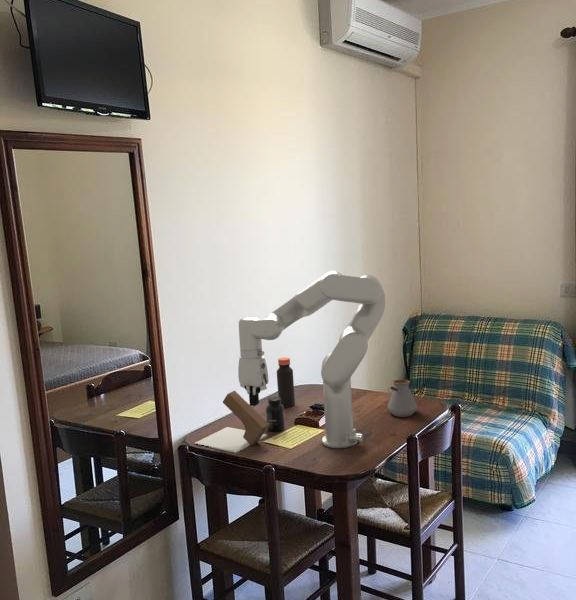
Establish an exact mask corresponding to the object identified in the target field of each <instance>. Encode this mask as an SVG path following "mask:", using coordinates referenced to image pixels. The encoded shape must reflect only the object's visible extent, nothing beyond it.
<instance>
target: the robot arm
mask: <svg viewBox="0 0 576 600" xmlns="http://www.w3.org/2000/svg"><path fill="white" fill-rule="evenodd" d="M332 301H339V302H345V303H353V304H354V303H355V304H359V305H358V306H357V309H356V311H355V312H354V314H353V316H352V318H351V320H350V321H349V322H348V324H347V325H346V327H345V328H344V329H343V331H342V332H341V333H340V335H339V337H338V342H337V344H336V346H335V347H334V348H333V350H332V351H331V352H329V353H328V354H327V355H325V357H324V358H323V360H322V363H321V369H320V374H321V375H320V376H321V379H322V388H323V389H322V390H323V407H324V409H323V410H324V422H325V423H324V425H325V426H324V427H325V435H324V436H323V437H322V438H321V444H323V445H324V446H325V447H327V448H332V449H345V448H351V447H353V446H356V444H358V443H362V442H363V440H364V436H363V434H362V433H357V429H356V428H354V425H353V424H354V423H353V422H354V421H353V419H354V418H353V402H352V396H353V395H352V380H351V377H352V376H353V375H354V373H355V371H356V370H357V368H358V367H359V366H360V364H361V362H362V361H363V360H364V358H365V356H366V354H367V352H368V348H369V340H370V338H371V337H372V335H373V334H374V332H375V330H376V328H377V326H378V325H379V324H380V321H381V319H382V317H383V316H384V313H385V309H386V294H385V291H384V288H383V286H382V285H381V283H380V281H379V279H378V278H377V277H375V276H374V275H372V274H371V275H370V274H365V275H362V276H361V277H359V276H353V275H346V274H342V273H341V272H339V271H336V270H331V271H328V272H327V273H325V274H324V275H322V276H321V277H319V278H318V279H317V280H315V281H314V282H312V283H311V284H309V285H308V286H306V287H305V288H304V289H302V290H301V291H299V292H298V293H297V294H295V295H294V296H293V297H292V298H290V299H289V300H288V301H287V302H285V303H283V304H281V305H280V306H279V307H278V308H276V309H275V310H274V311H272V312H271V313H269V314H268V315H267V316H265V318H262V319H260V318H258V317H254V316H253V317H251V316H250V317H249V316H248V317H243V318H241V319H239V320H238V337H239V351H240V353H239V354H240V356H239V357H238V358H239V359H238V368H237V369H238V370H237V371H238V374H237V375H238V377H237V378H238V383H239V384H240V388H242V389H245V390H246V393H247V395H248V398H249V399H248V401H249V405H250V406H251V407H255V406H257V405H260V397H259V395H260V393H261V392H262V391H265V390H267V389H268V388H267V385H268V384H269V373H268V366H267V362H266V357H265V356H264V355H265V351H264V350H263V346H262V345H263V344H262V343H263V342H262V340H266V341H274V340H277V339H278V338H279V337H281V335H282V333H283V332H284V331H285V330H286V329H287V328H288V327H290V326H291V325H293V324H294V323H296V322H297V321H299V320H301V319H303V318H305V317H306V318H307V317H309V316H312V315H313V314H315V313H316V312H317V311H319V310H320V309H322V308H324V306H326V305H327V304H328V303H330V302H332ZM323 445H322V446H323Z"/></svg>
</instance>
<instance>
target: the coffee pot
mask: <svg viewBox="0 0 576 600" xmlns="http://www.w3.org/2000/svg"><path fill="white" fill-rule="evenodd" d="M410 382H411V381H410V380H408V379H403V378H402V379H395V380H392V384H393V385H394V386H390V387H388V388H387V392H389V393H391V395H390V399H389V401H388V404H387V410H388V411H389V412H390V413H391V414H392V415H393V416H395V417H398V418H399V417H401V418H406V417H410V416H412V415H413V414H414V413H416V411H417V409H418V405H417V402H416V401H415V398H414V396H413V394H412V392H411V389H410V387H409V385H410ZM389 389H390V390H392V391H389Z"/></svg>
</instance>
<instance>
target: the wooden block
mask: <svg viewBox="0 0 576 600" xmlns="http://www.w3.org/2000/svg"><path fill="white" fill-rule="evenodd" d="M222 404H223V405H224V406H225V407H226V408H228V410H230V411H231V412H232V413H233V414H234V415H235V417H237V418H238V420H240V422H241V423H242V425H243V426H244V430H245V433H244V436H243V438H244V439H245V440H246V441H247V442H248V443H249V444H250V446H253V445H255V444H257V443H258V442H259V441H260V440H259V439H260V438H261V437H262V435H263V434H265V432H266V431H267V428H268V426H269V423H267V422H266V419H265V418H264V417H263V416H262V415H260V413H259V412H257V411H256V409H254V407H253V406H250V403H248V402H247V401H246V400H245V399H244V398H243V397H242V396H241V395H240V394H239V393H238V392H237V391H236V390H233V391H231V392H228V393H227V394H226V396H225V397H224V399H223V401H222Z"/></svg>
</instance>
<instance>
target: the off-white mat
mask: <svg viewBox="0 0 576 600" xmlns="http://www.w3.org/2000/svg"><path fill="white" fill-rule="evenodd" d="M244 433H245V429H240V428H236V427H235V428H234V427H229V426H226V427H224V428H222V429H221V430H219V431H218V430H217V431H216V432H214V433H212V434H209V435H208V436H206V437H204V438H202V439H200V440H198V441H195V442H194V445H196V444H198V445H197V446H201V445H204V446H203V447H205V446H209V447H208V448H210V447H211V448H210V449H214V450H215V449H216V450H220V451H224V452H229V453H233V452H234V453H233V454H237V453H239V452H241V451H243V450H244V449H246V448H249V446H251V445H250V444H249V443H248V442H247V441H246V440H245V439H244V438H243V436H244ZM266 437H268V434H267V433H264V434H263V435H262V437H261V438H260V439H259V441H260V440H262V439H264V438H266ZM240 450H241V451H240Z"/></svg>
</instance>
